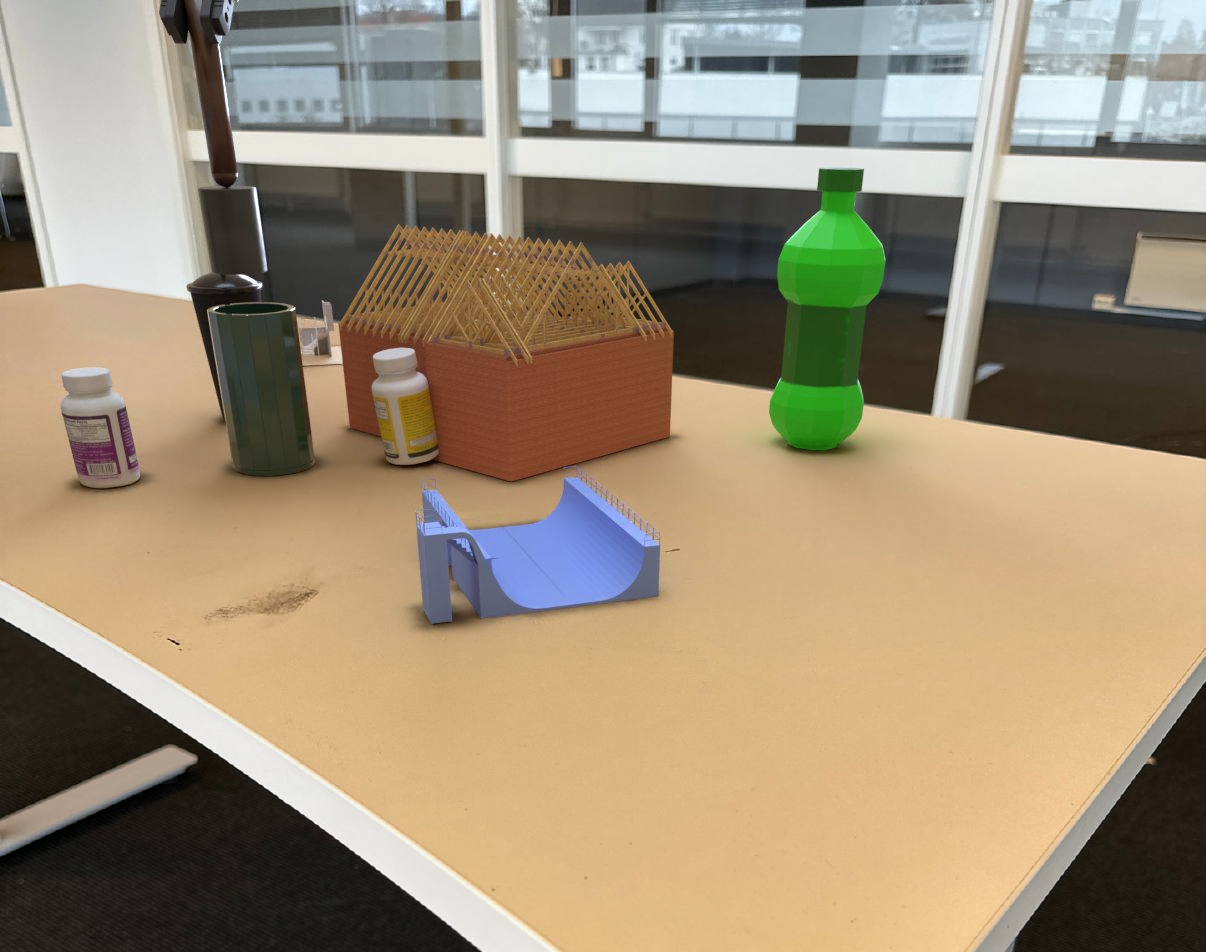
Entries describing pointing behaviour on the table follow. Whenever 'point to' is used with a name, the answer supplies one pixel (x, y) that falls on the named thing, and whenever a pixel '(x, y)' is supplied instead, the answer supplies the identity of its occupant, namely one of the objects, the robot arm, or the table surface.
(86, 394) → the pill bottle
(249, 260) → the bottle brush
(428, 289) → the house
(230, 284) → the drinking cup
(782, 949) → the table surface
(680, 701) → the table surface
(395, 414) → the supplement bottle
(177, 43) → the robot arm
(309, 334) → the architectural model
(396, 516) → the table surface
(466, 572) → the half pipe
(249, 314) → the green utensil holder
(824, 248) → the plastic bottle
